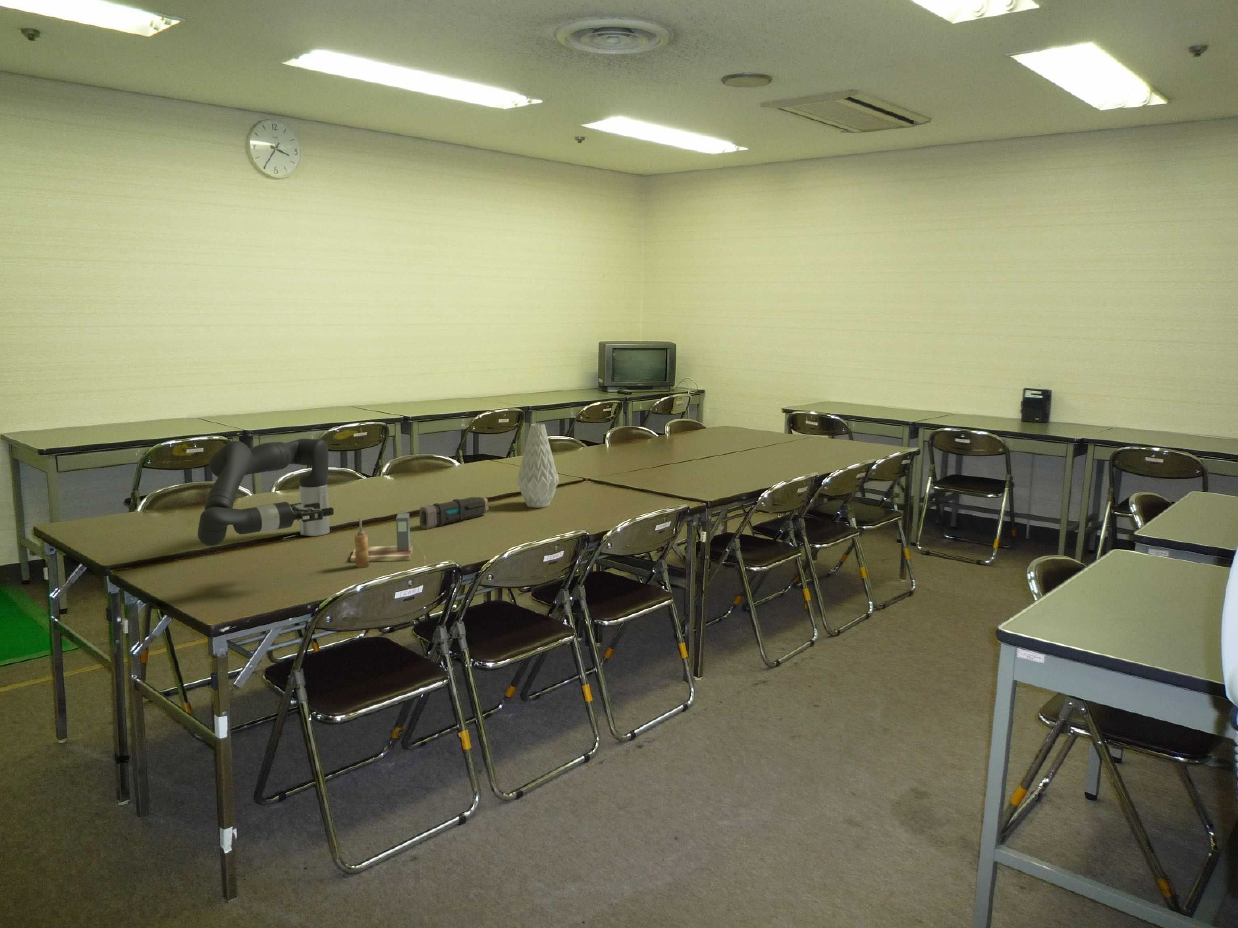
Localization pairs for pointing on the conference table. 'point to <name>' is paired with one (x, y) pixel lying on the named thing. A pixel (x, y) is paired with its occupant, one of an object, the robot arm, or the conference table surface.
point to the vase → (537, 469)
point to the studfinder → (403, 531)
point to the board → (386, 554)
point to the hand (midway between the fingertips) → (326, 508)
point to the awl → (361, 548)
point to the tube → (452, 511)
